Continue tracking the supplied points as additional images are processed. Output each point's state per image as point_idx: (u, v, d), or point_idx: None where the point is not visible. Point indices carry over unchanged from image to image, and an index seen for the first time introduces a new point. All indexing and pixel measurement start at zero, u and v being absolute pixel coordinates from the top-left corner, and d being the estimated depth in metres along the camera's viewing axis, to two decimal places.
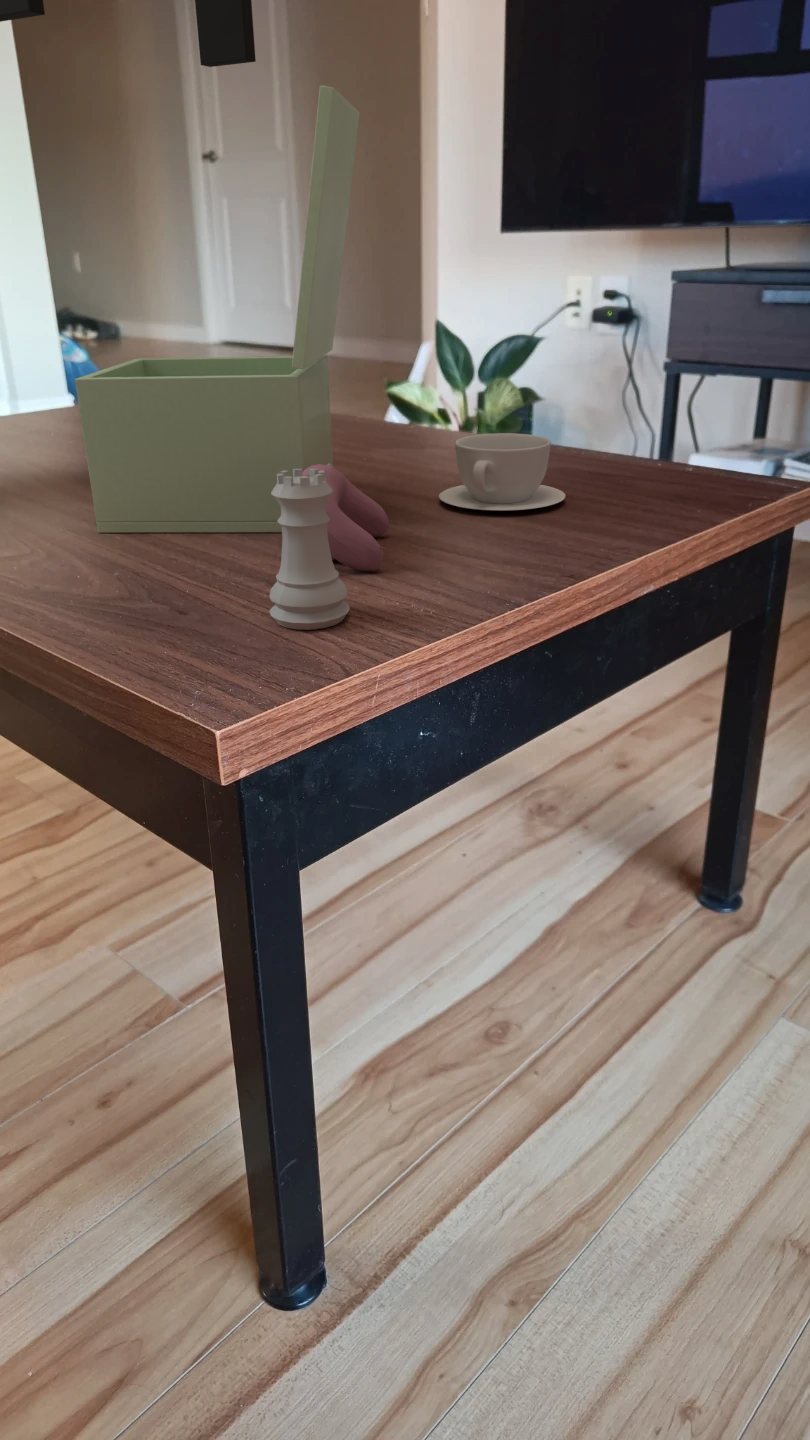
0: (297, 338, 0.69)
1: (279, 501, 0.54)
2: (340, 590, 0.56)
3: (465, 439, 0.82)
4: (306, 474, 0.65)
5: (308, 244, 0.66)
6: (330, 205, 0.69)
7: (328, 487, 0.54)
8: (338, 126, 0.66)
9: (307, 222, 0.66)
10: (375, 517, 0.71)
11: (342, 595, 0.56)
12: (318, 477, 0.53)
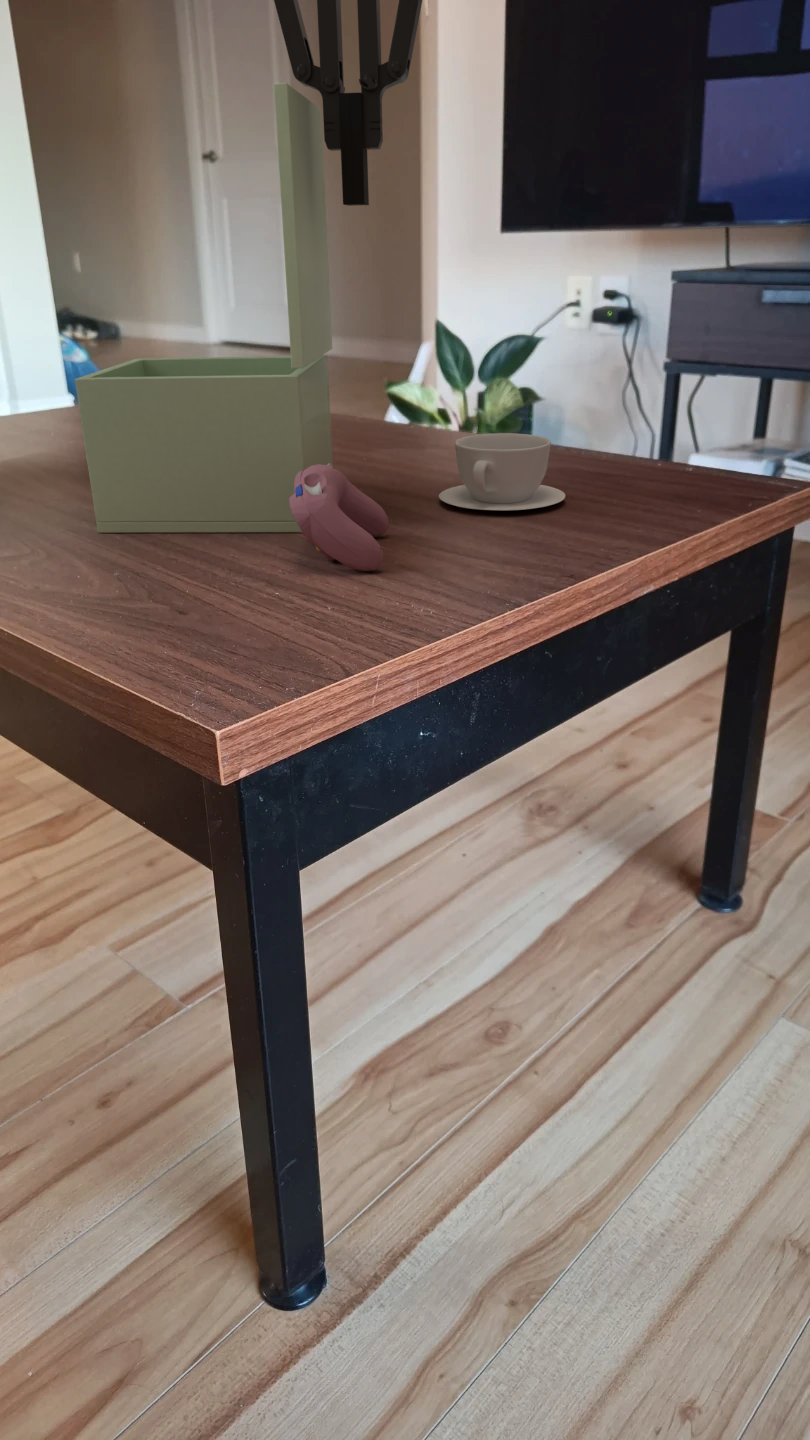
0: (292, 338, 0.69)
1: None
2: None
3: (465, 439, 0.82)
4: (306, 474, 0.65)
5: (288, 243, 0.66)
6: (304, 202, 0.69)
7: None
8: (299, 122, 0.66)
9: (283, 221, 0.66)
10: (375, 517, 0.71)
11: None
12: None
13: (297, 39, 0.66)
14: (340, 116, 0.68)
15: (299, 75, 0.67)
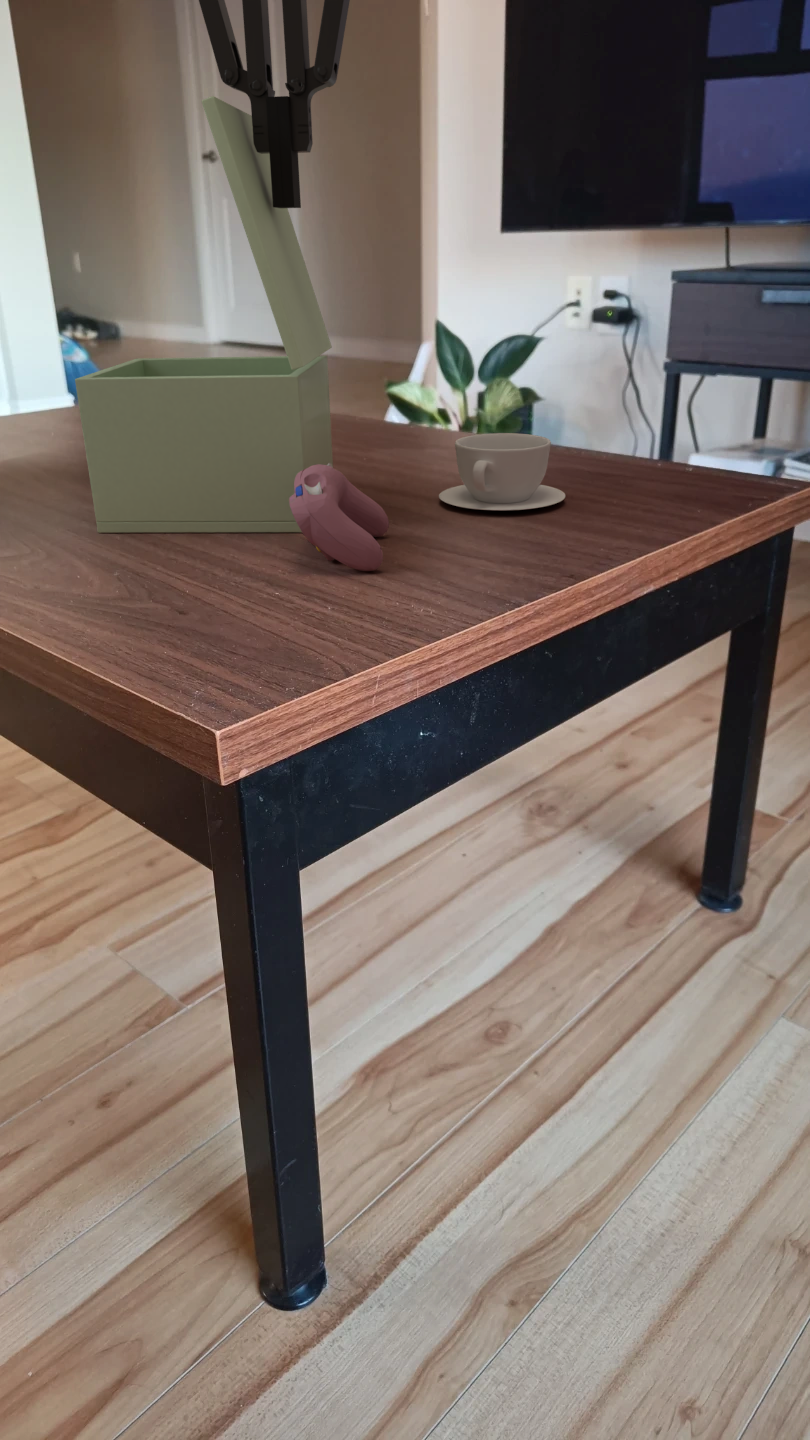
0: (284, 341, 0.69)
1: None
2: None
3: (465, 439, 0.82)
4: (306, 474, 0.65)
5: (255, 249, 0.66)
6: (263, 208, 0.69)
7: None
8: (237, 132, 0.67)
9: (245, 230, 0.66)
10: (375, 517, 0.71)
11: None
12: None
13: (224, 43, 0.67)
14: (268, 119, 0.68)
15: (226, 79, 0.67)
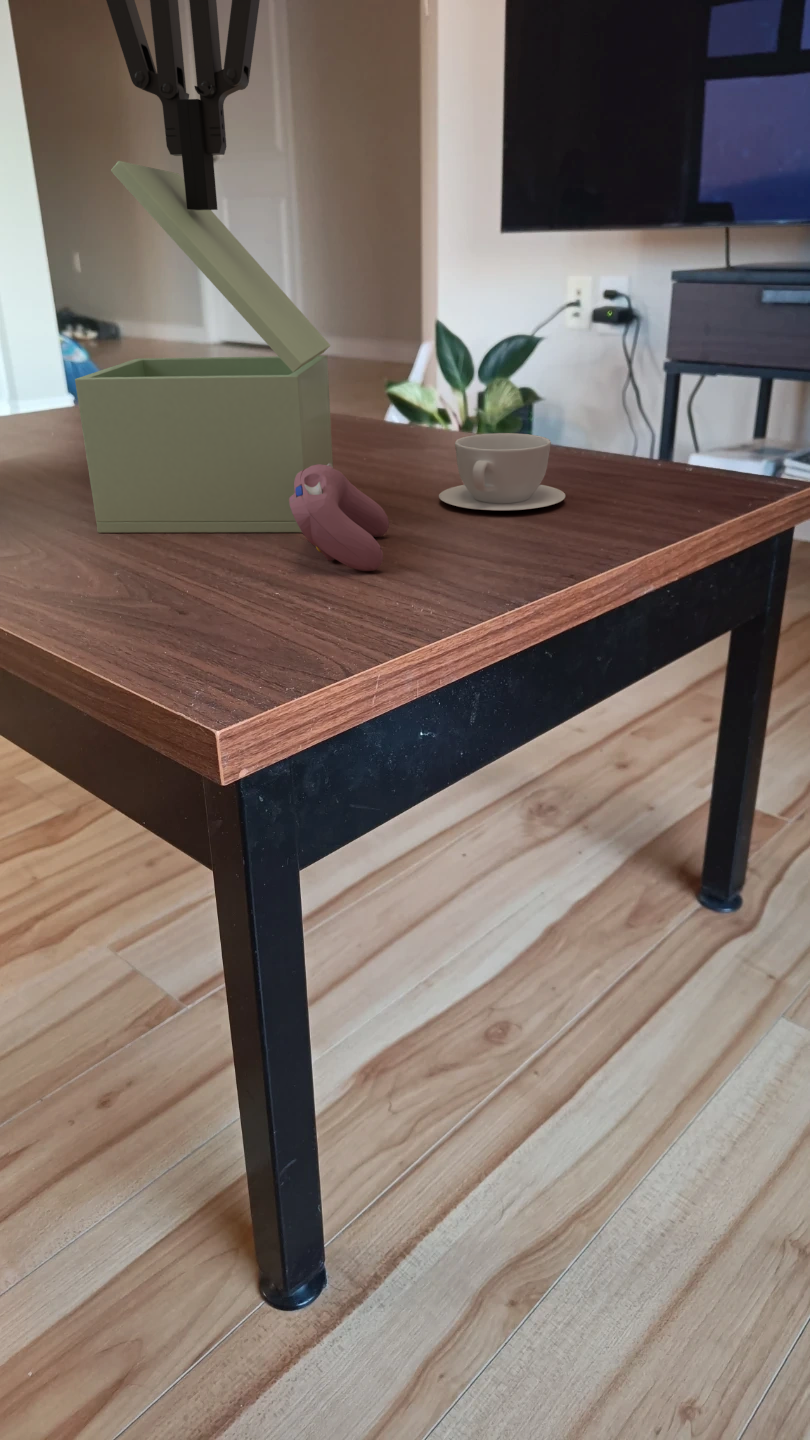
0: (275, 349, 0.69)
1: None
2: None
3: (465, 439, 0.82)
4: (306, 474, 0.65)
5: (214, 278, 0.67)
6: (207, 241, 0.70)
7: None
8: (156, 185, 0.69)
9: (197, 265, 0.67)
10: (375, 517, 0.71)
11: None
12: None
13: (133, 46, 0.67)
14: (179, 122, 0.69)
15: (137, 82, 0.68)
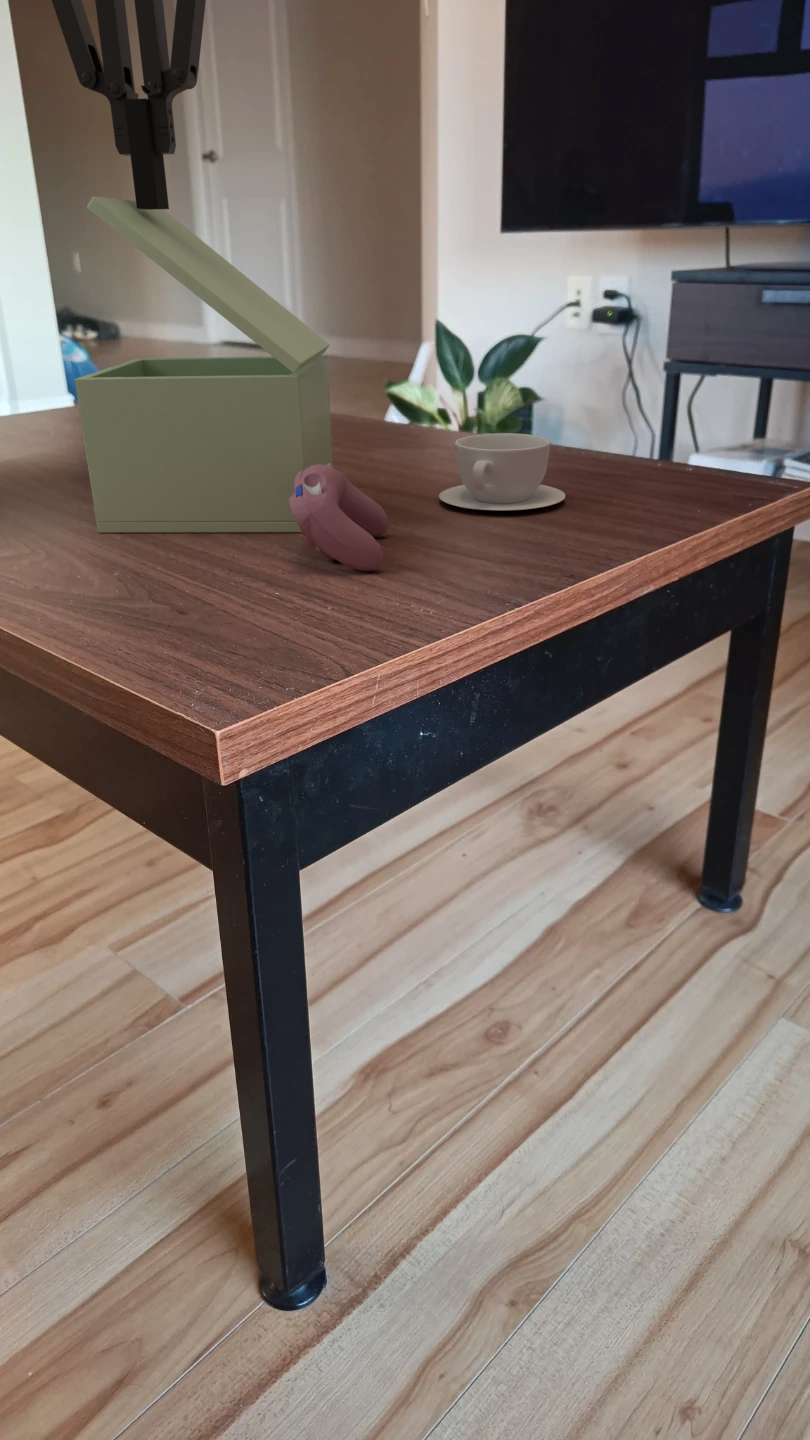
0: (272, 353, 0.69)
1: None
2: None
3: (465, 439, 0.82)
4: (306, 474, 0.65)
5: (202, 294, 0.68)
6: (191, 261, 0.71)
7: None
8: (134, 215, 0.70)
9: (184, 285, 0.68)
10: (375, 517, 0.71)
11: None
12: None
13: (80, 46, 0.67)
14: (127, 122, 0.69)
15: (84, 82, 0.68)
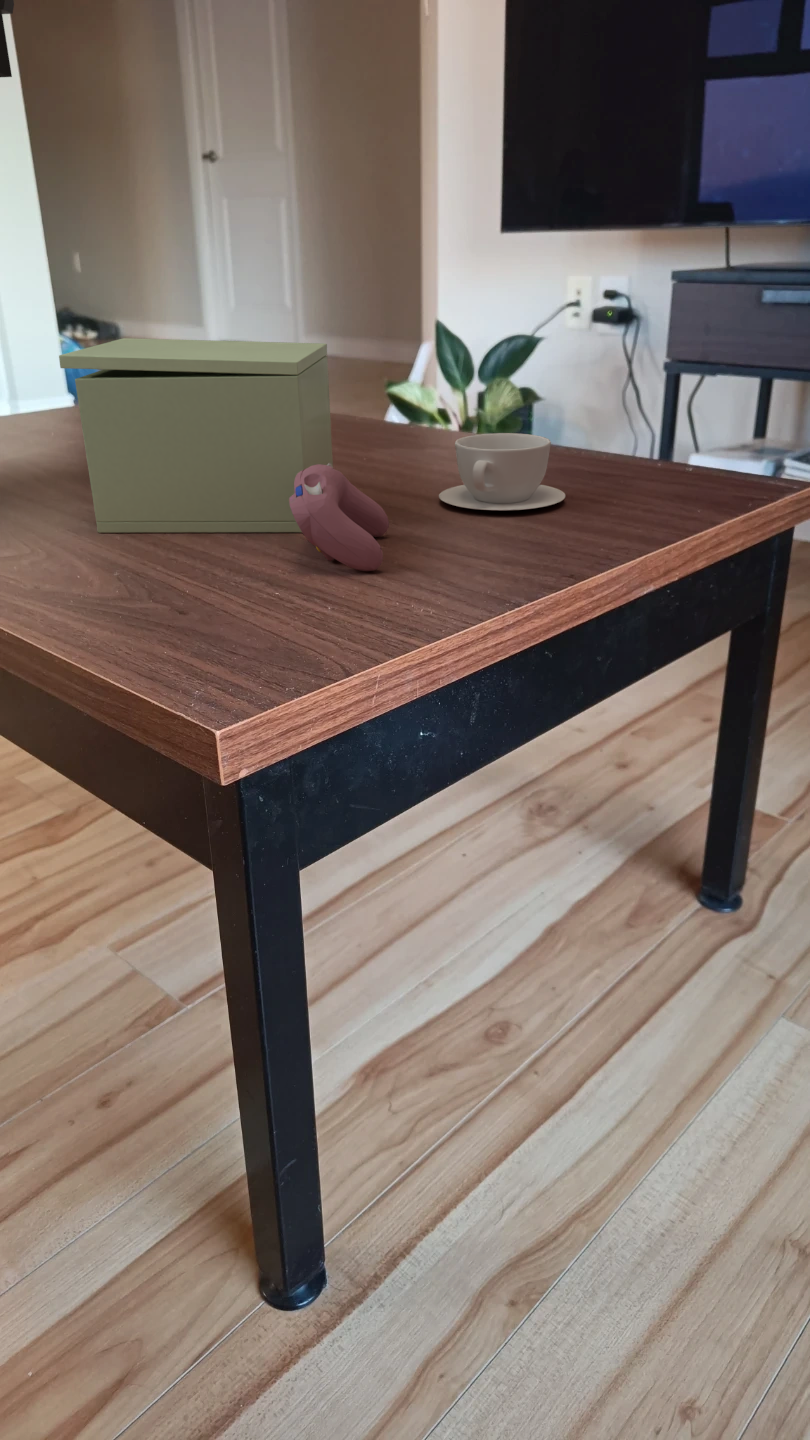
0: (270, 371, 0.70)
1: None
2: None
3: (465, 439, 0.82)
4: (306, 474, 0.65)
5: (186, 367, 0.70)
6: (166, 351, 0.73)
7: None
8: (102, 350, 0.73)
9: (168, 370, 0.70)
10: (375, 517, 0.71)
11: None
12: None
13: None
14: None
15: None
